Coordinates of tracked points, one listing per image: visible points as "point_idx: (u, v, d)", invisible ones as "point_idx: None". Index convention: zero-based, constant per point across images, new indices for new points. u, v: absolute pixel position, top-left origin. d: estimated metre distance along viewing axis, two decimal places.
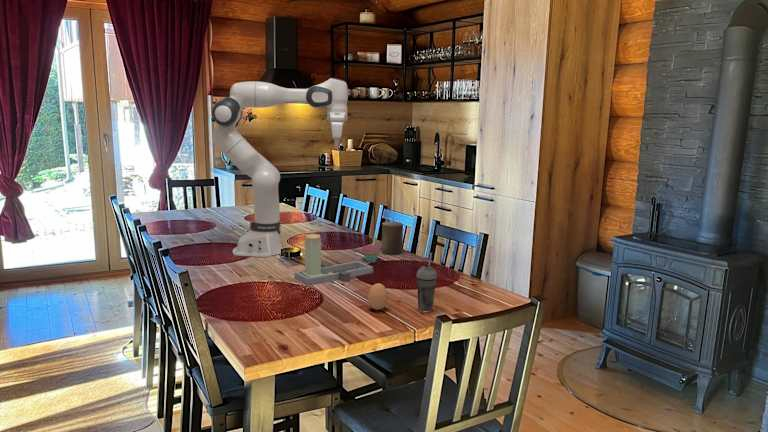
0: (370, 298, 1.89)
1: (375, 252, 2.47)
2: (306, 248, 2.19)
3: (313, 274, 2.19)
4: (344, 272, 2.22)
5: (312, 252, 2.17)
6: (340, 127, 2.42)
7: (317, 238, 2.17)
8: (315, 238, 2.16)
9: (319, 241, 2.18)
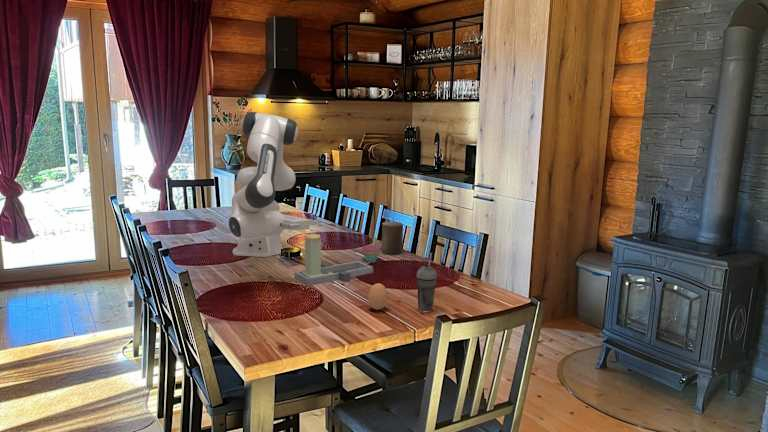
0: (370, 298, 1.89)
1: (375, 252, 2.47)
2: (306, 248, 2.19)
3: (313, 274, 2.19)
4: (344, 272, 2.22)
5: (312, 252, 2.17)
6: None
7: (317, 238, 2.17)
8: (315, 238, 2.16)
9: (319, 241, 2.18)
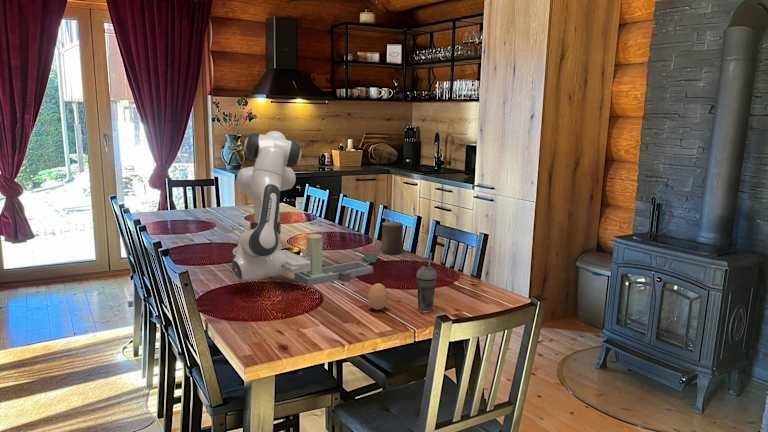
0: (370, 298, 1.89)
1: (375, 252, 2.47)
2: (307, 248, 2.19)
3: (314, 274, 2.19)
4: (344, 272, 2.22)
5: (314, 252, 2.18)
6: None
7: (318, 238, 2.17)
8: (316, 238, 2.17)
9: (320, 241, 2.19)
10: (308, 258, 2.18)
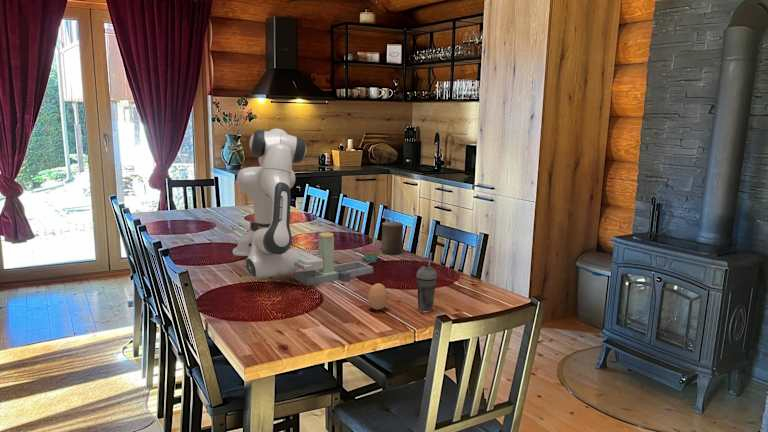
0: (370, 298, 1.89)
1: (375, 252, 2.47)
2: (319, 246, 2.23)
3: (326, 272, 2.23)
4: (344, 272, 2.22)
5: (326, 250, 2.21)
6: None
7: (330, 236, 2.20)
8: (328, 236, 2.20)
9: (332, 239, 2.22)
10: (320, 256, 2.21)
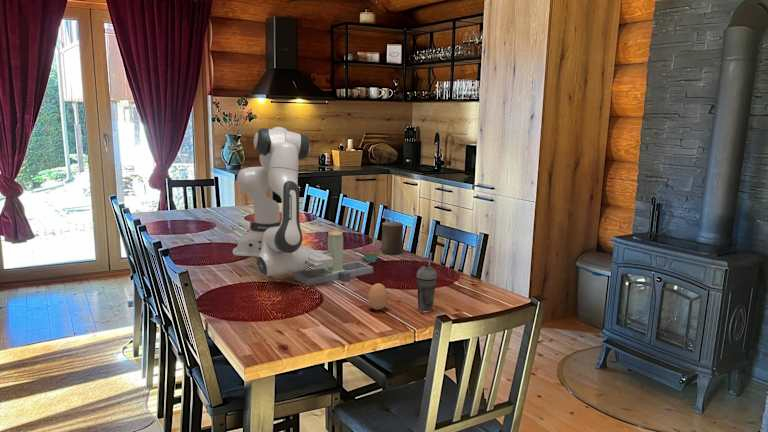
0: (370, 298, 1.89)
1: (375, 252, 2.47)
2: (329, 245, 2.25)
3: (335, 270, 2.25)
4: (344, 272, 2.22)
5: (335, 249, 2.23)
6: None
7: (339, 235, 2.23)
8: (338, 235, 2.22)
9: (341, 238, 2.24)
10: (329, 254, 2.23)
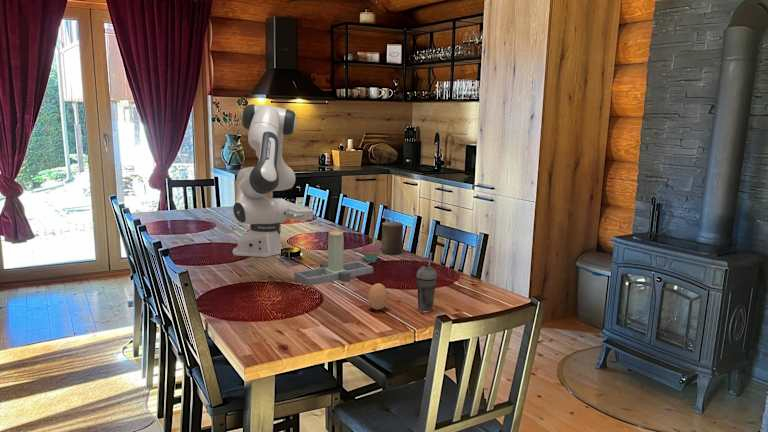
0: (370, 298, 1.89)
1: (375, 252, 2.47)
2: (329, 245, 2.25)
3: (336, 270, 2.25)
4: (344, 272, 2.22)
5: (335, 249, 2.23)
6: None
7: (340, 235, 2.23)
8: (338, 235, 2.22)
9: (342, 238, 2.24)
10: (308, 208, 2.15)
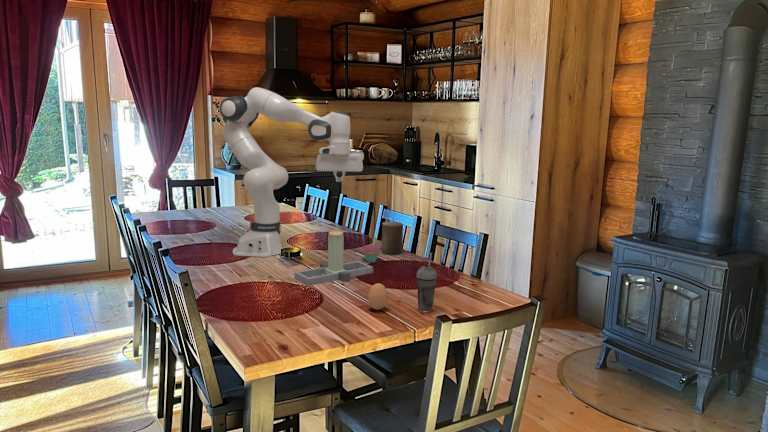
0: (370, 298, 1.89)
1: (375, 252, 2.47)
2: (329, 245, 2.25)
3: (336, 270, 2.25)
4: (344, 272, 2.22)
5: (335, 249, 2.23)
6: None
7: (340, 235, 2.23)
8: (338, 235, 2.22)
9: (342, 238, 2.24)
10: (342, 179, 2.47)
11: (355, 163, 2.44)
